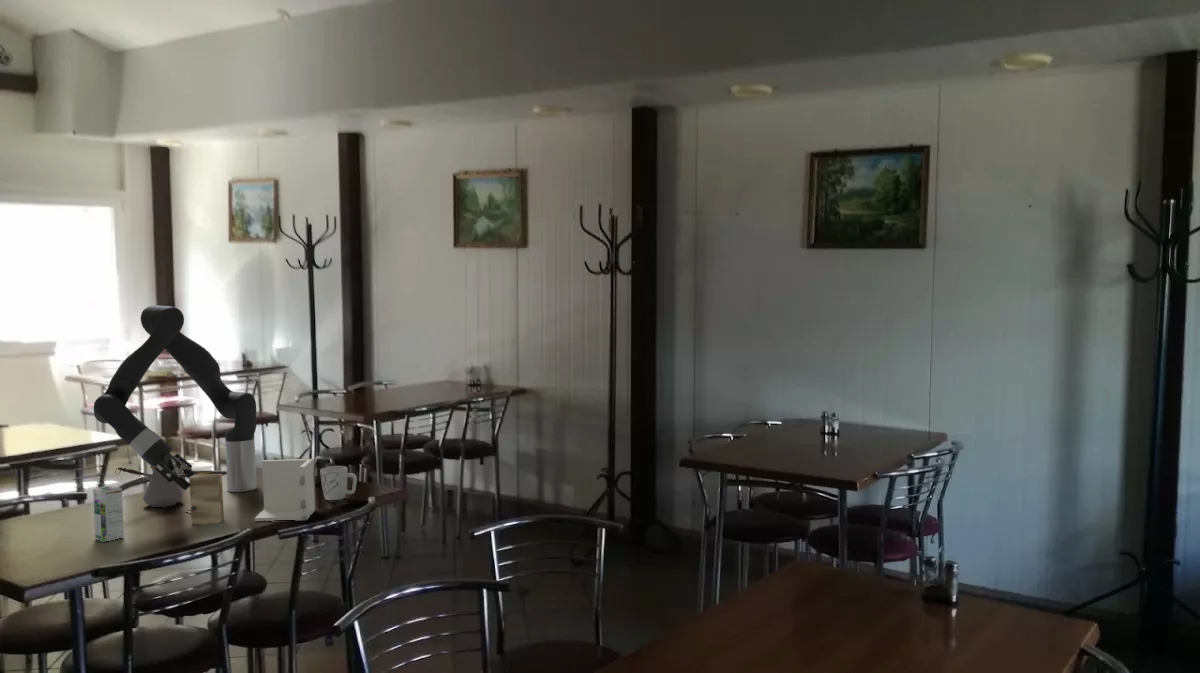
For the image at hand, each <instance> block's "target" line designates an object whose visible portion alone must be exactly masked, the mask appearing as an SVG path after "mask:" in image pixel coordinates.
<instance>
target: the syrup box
mask: <svg viewBox="0 0 1200 673" xmlns="http://www.w3.org/2000/svg"><path fill="white" fill-rule="evenodd" d="M92 492H93V518H94V519H93V520H94V537H95V538H94V539H95V540H96V539H97V540H96V541H99V540H100V541H99V542H102V543H103V542H105V543H107V542H106V541H109V542H111V541H110V540H114V541H116V540H115V539H118V540H120V539H119V538H122V539H124V538H125V535H124V534H125V533H124V528H125V527H124V512H123V511H124V508H123V488H122V487H119V486H115V485H104V486H99V487H95V488H93V489H92Z"/></svg>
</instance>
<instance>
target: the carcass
mask: <svg viewBox="0 0 1200 673" xmlns="http://www.w3.org/2000/svg"><path fill="white" fill-rule="evenodd" d="M261 464H262V465H261V466H262V467H261V472H262V488H263V489H262V491H263V493H262V494H263V510H261V511H260V512H259V513H258V514H257V515H256V516H255V517H254V522H255V521H264V520H266V521H268V520H270V521H272V522H275V521H274V520H295V521H297V522H298V521H307V520H308V519H309V518H310V517H311V516H312V515H313V514H314V512H315V511H316V491H315V469H314V468H315V466H314V458H299V459H298V458H297V459H295V458H293V459H271V460H270V459H267V460H266V459H264V460H262V461H261ZM310 515H311V516H310ZM295 521H294V522H295Z"/></svg>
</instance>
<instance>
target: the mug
mask: <svg viewBox="0 0 1200 673" xmlns="http://www.w3.org/2000/svg"><path fill="white" fill-rule="evenodd" d="M319 471H320V472H319V473H320V474H319V475H320V481H321V488H322V492H323V498H324V500H325V499H326V500H339V499H343V498H346V495H353V494H354V493H355V492H356V488H357V483H358V482H357V481H358V477H357V475H356V474H355V473H353V472H349V470H348V467H347V466H344V465H333V466H326V467H322V468H321V469H319ZM349 478H352V485H351V488H352V489H351V490H348V479H349ZM326 500H325V501H326ZM343 500H344V499H343Z"/></svg>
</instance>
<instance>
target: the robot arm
mask: <svg viewBox="0 0 1200 673" xmlns="http://www.w3.org/2000/svg"><path fill="white" fill-rule="evenodd" d="M140 323H141V326H142V328H143V329H144V331H145V332H146V333H147V334H148V335H149V337H148V338H147V339H146V341H144V343H142V344H141V345H140V346H139V347H138V348H137V349H135V350H134V351H133V352H132V353H131V354H129V355H128V356H127V357H126V358H125V359H124V360H123V361H122V362H121V364H120V365H119V366H118V368H117V370H115V373H114V374H113V376H112V377H111V379H110V381H109V383H108V384H109V385H108V387H107V389H106V391H105V392H104V394H102V395H100V396H99V397H97V398H96V399H95V401H94V403H93V415H94V418H95V419H96V420H97V421H98V422H100V423H102V424H108V425H109V426H111V428H112V429H114V431H115V433H116V434H117V436H118V437H119V438H120V439H121V440H122V441H123V442H125V443H126V444H127V445H128V446H129V447H130V448H131V449H132V450H133V452H135V453H136V454H137V455H138V456H139V457H140V458H142V460H144V461H145V462H146V463H147V464H148V465H149V466H152V467H155V466H156V467H155V470H156V471H157V472H159V473H160V474H161V475H162V476H163V477H164V478H165V479H166V480H167V481H168V482H171V481H172V482H175V483H177V484H178V486H179V487H180V489H181V490H182V489H183V491H187V490H188V488H190V483H189V482H188V480H186V479H185V478H184V477H183V476H185V477H186V478H187V479H189V478H190V477H191V476H193V475H197V474H196V472H195V471H193V470H192V469H193V465H192V464H191V463H190V462H188V461H187V460H186V459H185V458H184V457H182V456H181V455H180V454H179V453H176V454H175V455H172V453H171V452H172V451H173V447H172V446H171V445H170V444H168V442H167V441H165V440H164V439H163V438H162V437H160V436H159V435H158V434H157V433H156V432H155V431H154V430H152V429H150V428H149V426H147V425H146V424H144V422H143V421H141V420H140V419H138V418H137V417H136V416H135V415H134V414H133V413H132V411H131V410H130V409H129V408H128V407H127V406H126V405H127V403H128V402H129V399H130V397H131V396H132V394H133V392H135V390H136V389H137V387H138V385H140V382H141V380H142V379H143V377H144V376H145V374H146V373H147V371H148V370H149V369H150V367H151V366H152V364H153V363H154V362H155V361H156V359H157V358H158V357H159V356H160V355H161V353H163V351H164V350H166V351H167V352H168V353H169V355H170V356H171V357H172V358H173V359H174V360H175V361H176V362H177V363H178V364H179V366H180V367H181V368H182V369H183V371H185V373H186V374H187V375H188V377H190V378H191V379H192V381H193V382H195V383H196V384H197V386H198V387H199V388H200V389H201V390H202V391H203V392H204V394H205V395H206V396H207V397H208V399H209V400H210V401H211V403H212V404H213V406H214V407H215V409H216V410H217V412H218V413H219V414H220V415H221V416H222V417H224V418H225V419H229V420H234V426H233V427H232V429H228V430H227V431H226V432H225V434H224V438H225V439H224V440H225V443H224V444H225V461H226V481H227V482H226V483H227V484H226V485H227V491H228V492H229V493H231V492H232V493H244V492H249V491H254V490H256V489H257V471H256V470H257V468H256V467H257V465H256V444H255V433H256V430H257V403H256V402H257V401H256V399H255V397H254V395H253V394H252V393H250V392H243V391H242V392H240V391H233V390H231V389H230V388H229V387H228V386H227V385H226V384H225V383H224V382H223V381H222V377H221V368H220V366H219V363H218V362H217V360H216V359H215V358H214V357H213V355H212V354H211V353H210V352H209V351H208V350H207V349H206V348H205V347H204V346H202V345H201V344H199V343H198V342H196V341H194V340H192V339H191V338H189V337H188V336H186V335H185V334H184V333H183V332H181V330H182V329H183V326H184V323H185V317H184V314H183V312H182V311H181V309H179V308H177V307H176V306H175V307H174V306H169V305H159V304H157V305H156V304H155V305H149V306H147V307H145V308H144V309H143V310H142V312H141V314H140ZM181 474H182V475H183V476H181Z"/></svg>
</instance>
